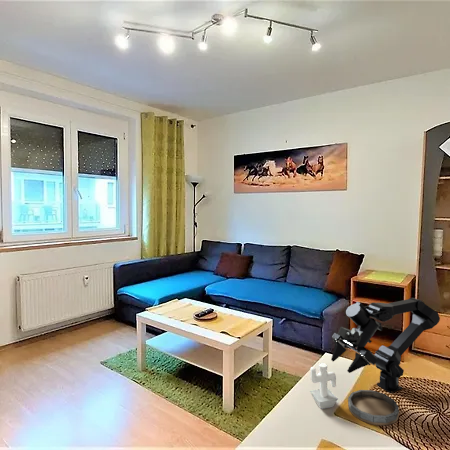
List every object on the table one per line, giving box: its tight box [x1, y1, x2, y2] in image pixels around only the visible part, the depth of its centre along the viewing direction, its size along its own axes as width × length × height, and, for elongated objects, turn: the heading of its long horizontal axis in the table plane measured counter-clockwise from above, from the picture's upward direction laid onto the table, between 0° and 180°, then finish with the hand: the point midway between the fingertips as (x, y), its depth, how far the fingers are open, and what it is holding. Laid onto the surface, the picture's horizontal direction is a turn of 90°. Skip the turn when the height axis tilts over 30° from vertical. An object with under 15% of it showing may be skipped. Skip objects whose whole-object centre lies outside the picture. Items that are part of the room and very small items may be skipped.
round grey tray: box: [347, 389, 400, 423], centre depth 115 cm, size 16×16×2 cm
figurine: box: [309, 362, 339, 410], centre depth 119 cm, size 7×9×15 cm
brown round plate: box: [348, 396, 400, 426], centre depth 115 cm, size 16×16×1 cm
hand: (339, 366), depth 121 cm, fingers open, 9 cm apart
